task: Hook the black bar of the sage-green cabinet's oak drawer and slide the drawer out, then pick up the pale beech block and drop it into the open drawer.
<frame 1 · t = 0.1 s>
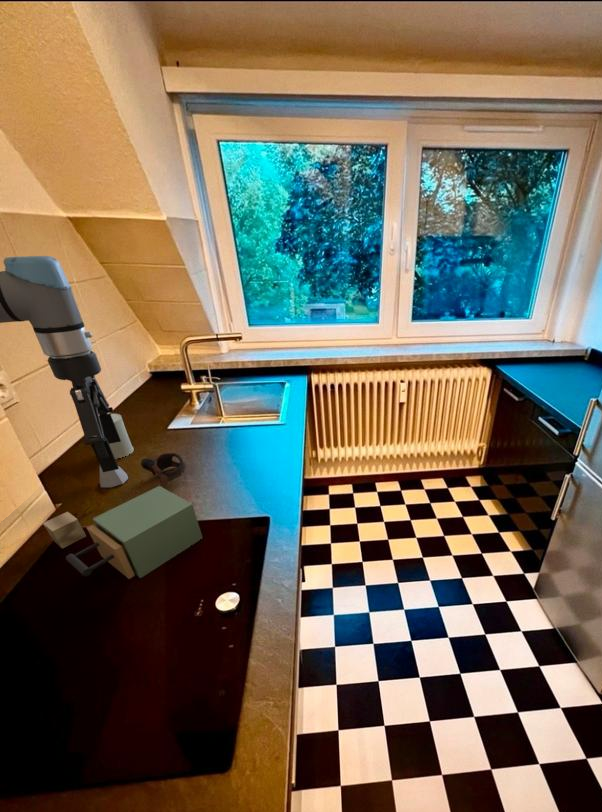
hand: (112, 455, 82), 19 cm above the counter, tool pointing down, fingers open, 13 cm apart
flask: (114, 481, 108), on the counter
cabinet: (157, 545, 85), on the counter
pottery mug: (167, 476, 110), on the counter
drawer: (126, 542, 79), point 5 cm above the counter, slide at 0.5 cm
block: (69, 538, 88), on the counter
can: (118, 453, 122), on the counter
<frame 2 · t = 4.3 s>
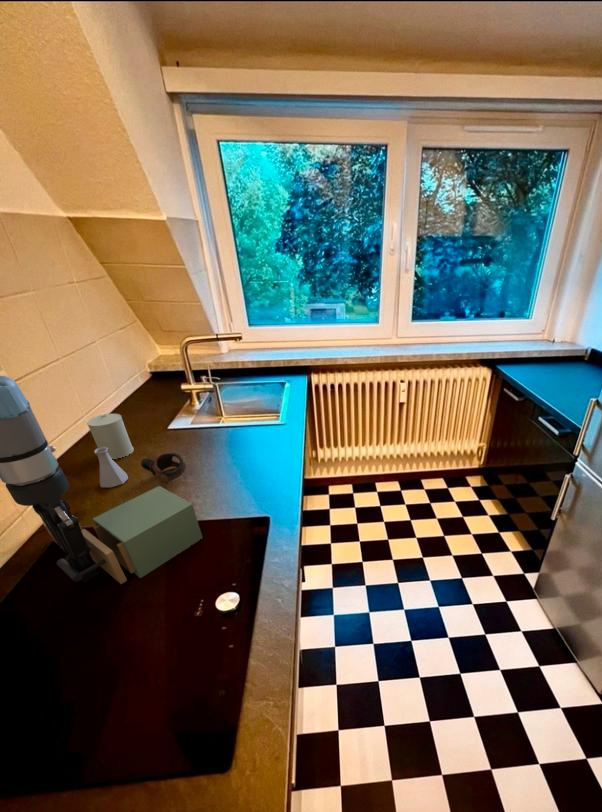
hand: (90, 576, 75), 2 cm above the counter, tool pointing down, fingers closed
drawer: (119, 546, 78), point 5 cm above the counter, slide at 2.1 cm, touching gripper
everything else where it was.
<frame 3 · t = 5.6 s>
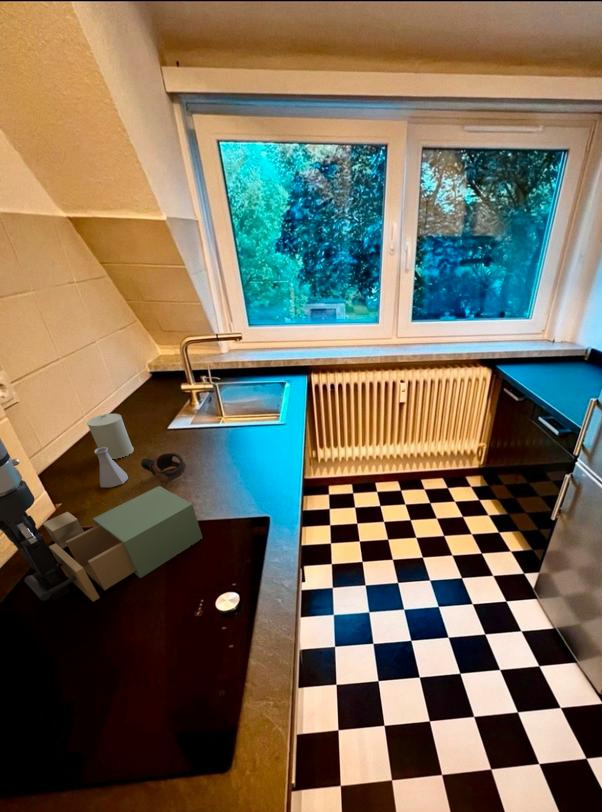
hand: (60, 593, 72), 2 cm above the counter, tool pointing down, fingers closed
drawer: (92, 561, 75), point 5 cm above the counter, slide at 7.2 cm, touching gripper
everything else where it was.
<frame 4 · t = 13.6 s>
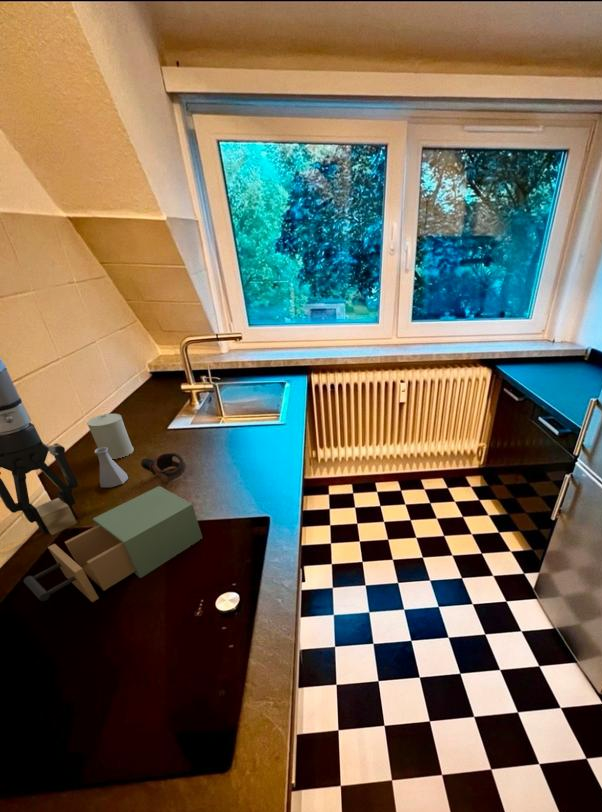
hand: (59, 523, 85), 4 cm above the counter, tool pointing down, fingers closed on block, 5 cm apart
drawer: (91, 562, 74), point 5 cm above the counter, slide at 7.4 cm
block: (59, 525, 85), point 4 cm above the counter, touching gripper
everything else where it was.
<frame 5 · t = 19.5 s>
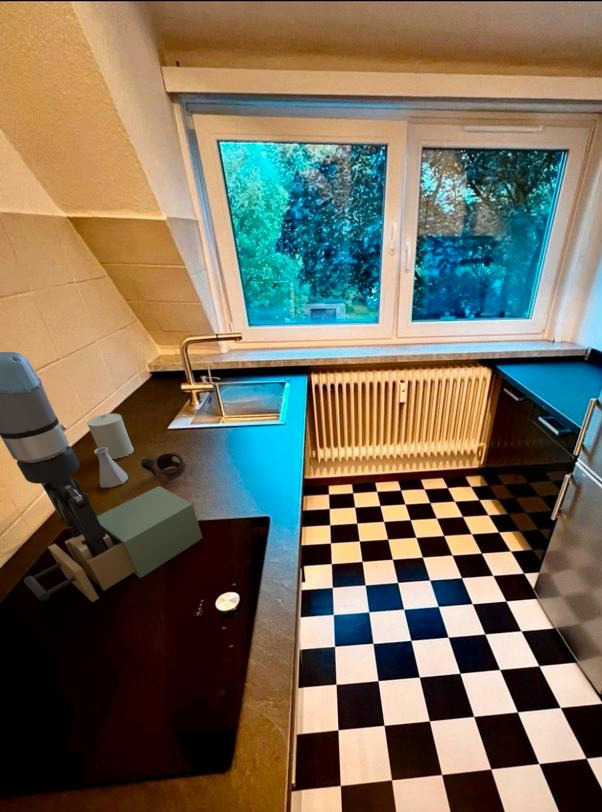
hand: (98, 556, 75), 5 cm above the counter, tool pointing down, fingers closed on block, 5 cm apart
drawer: (91, 562, 74), point 5 cm above the counter, slide at 7.4 cm, touching gripper
block: (99, 557, 75), point 5 cm above the counter, touching gripper
everything else where it was.
when the fingers open (9 cm above the counter, at t = 31.5 s): block drops 6 cm, resting on drawer.
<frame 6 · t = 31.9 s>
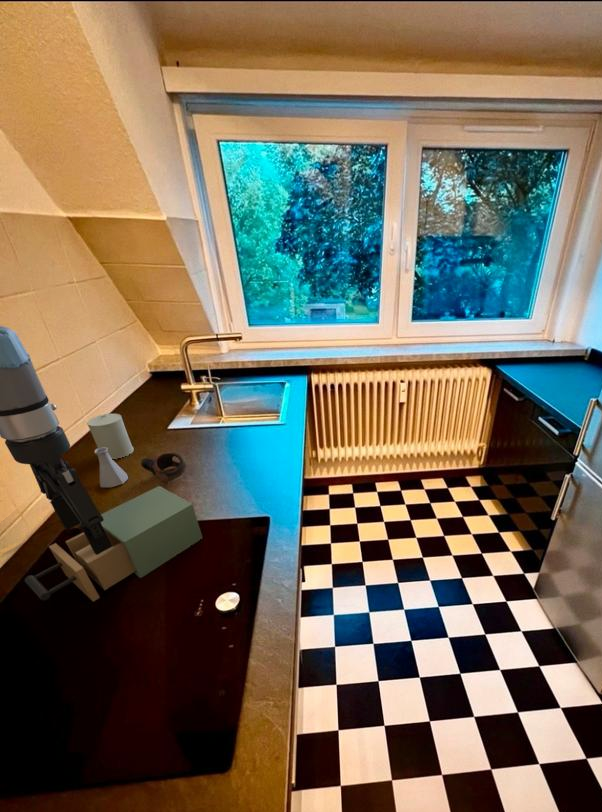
hand: (87, 537, 72), 10 cm above the counter, tool pointing down, fingers open, 11 cm apart
drawer: (92, 561, 75), point 5 cm above the counter, slide at 7.2 cm, touching block
block: (104, 568, 77), point 2 cm above the counter, touching drawer
everything else where it was.
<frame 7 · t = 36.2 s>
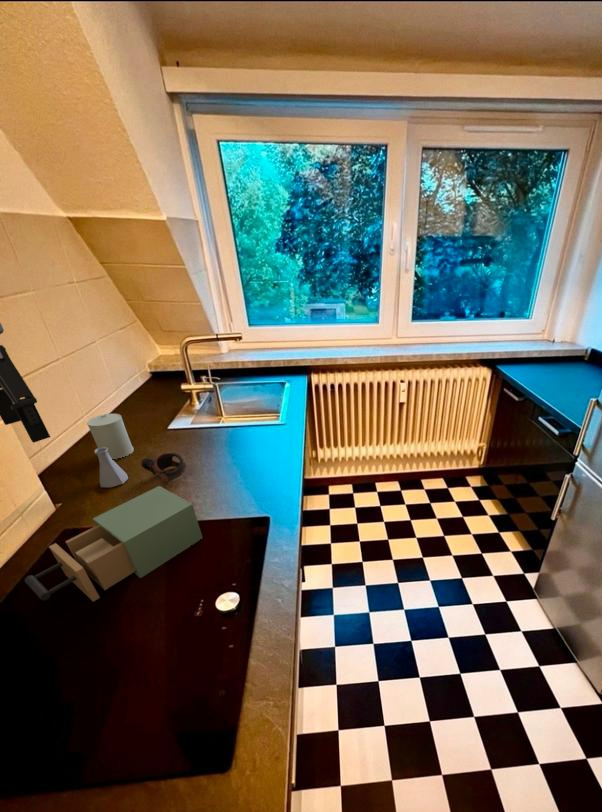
hand: (26, 430, 74), 27 cm above the counter, tool pointing down, fingers open, 13 cm apart
nothing on the counter moved.
at the end: drawer slide at 7.2 cm; block inside the target area in the drawer (2.4 cm from its centre), point 2.0 cm above the cabinet's base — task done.
